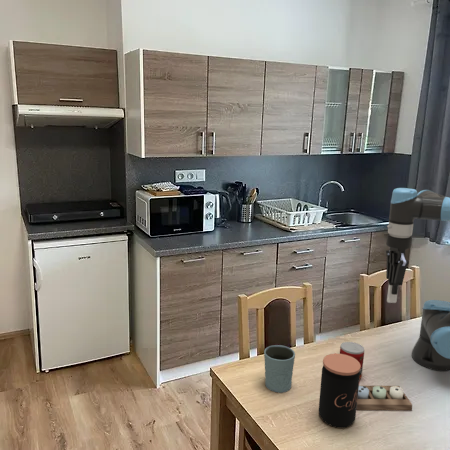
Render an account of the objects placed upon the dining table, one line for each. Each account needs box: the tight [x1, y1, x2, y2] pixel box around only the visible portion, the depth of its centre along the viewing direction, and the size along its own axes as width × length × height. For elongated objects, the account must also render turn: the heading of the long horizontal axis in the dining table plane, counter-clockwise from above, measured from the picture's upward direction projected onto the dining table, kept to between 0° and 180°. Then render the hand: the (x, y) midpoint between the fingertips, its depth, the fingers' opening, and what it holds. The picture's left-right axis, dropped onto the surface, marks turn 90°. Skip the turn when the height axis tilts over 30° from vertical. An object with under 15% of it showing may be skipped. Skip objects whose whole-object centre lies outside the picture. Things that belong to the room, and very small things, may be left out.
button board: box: [356, 384, 413, 412], centre depth 139 cm, size 17×10×2 cm, turn 91°
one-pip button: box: [389, 385, 405, 399], centre depth 139 cm, size 4×4×3 cm
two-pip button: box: [372, 385, 386, 399], centre depth 139 cm, size 4×4×3 cm
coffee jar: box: [318, 353, 361, 429], centre depth 129 cm, size 11×11×18 cm
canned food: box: [339, 341, 365, 381], centre depth 152 cm, size 8×8×11 cm
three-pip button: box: [357, 385, 369, 399], centre depth 139 cm, size 4×4×3 cm
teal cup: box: [263, 344, 296, 393], centre depth 145 cm, size 10×10×12 cm
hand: (391, 301), depth 151 cm, fingers closed
